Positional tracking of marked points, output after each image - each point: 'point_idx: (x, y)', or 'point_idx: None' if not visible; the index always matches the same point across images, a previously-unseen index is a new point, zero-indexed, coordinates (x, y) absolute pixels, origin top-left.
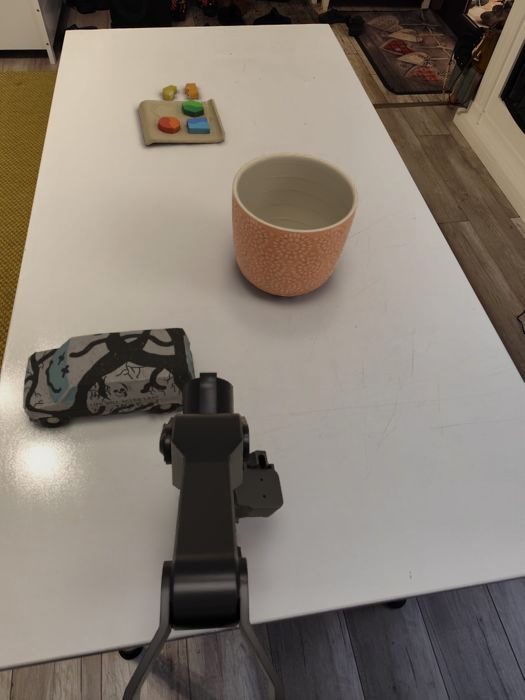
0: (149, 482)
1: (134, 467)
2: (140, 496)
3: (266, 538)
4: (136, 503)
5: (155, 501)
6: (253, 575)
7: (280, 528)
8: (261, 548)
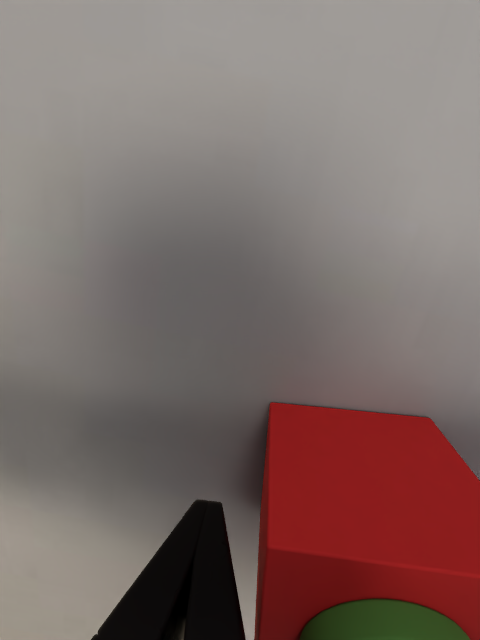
0: (44, 569)
1: (3, 590)
2: (87, 594)
3: (303, 230)
4: (108, 605)
5: (103, 568)
6: (457, 331)
7: (267, 134)
8: (345, 266)
